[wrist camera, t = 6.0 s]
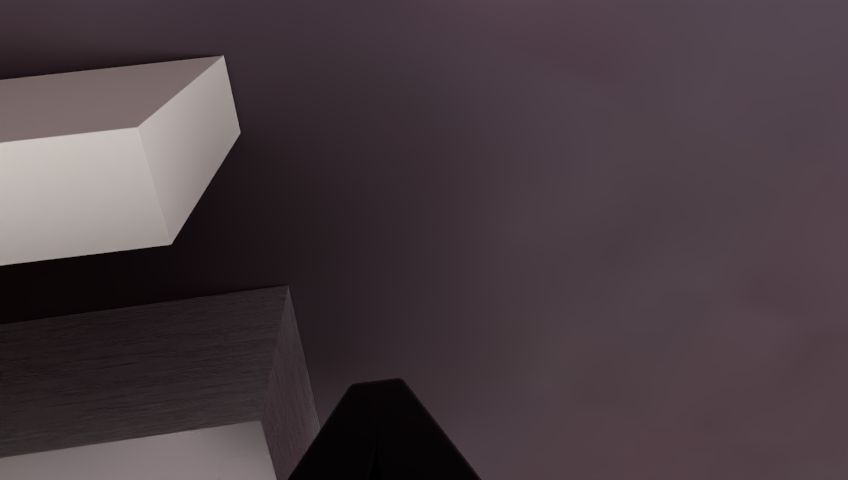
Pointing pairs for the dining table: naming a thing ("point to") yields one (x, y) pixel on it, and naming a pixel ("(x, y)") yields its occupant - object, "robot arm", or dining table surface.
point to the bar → (158, 392)
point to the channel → (109, 156)
